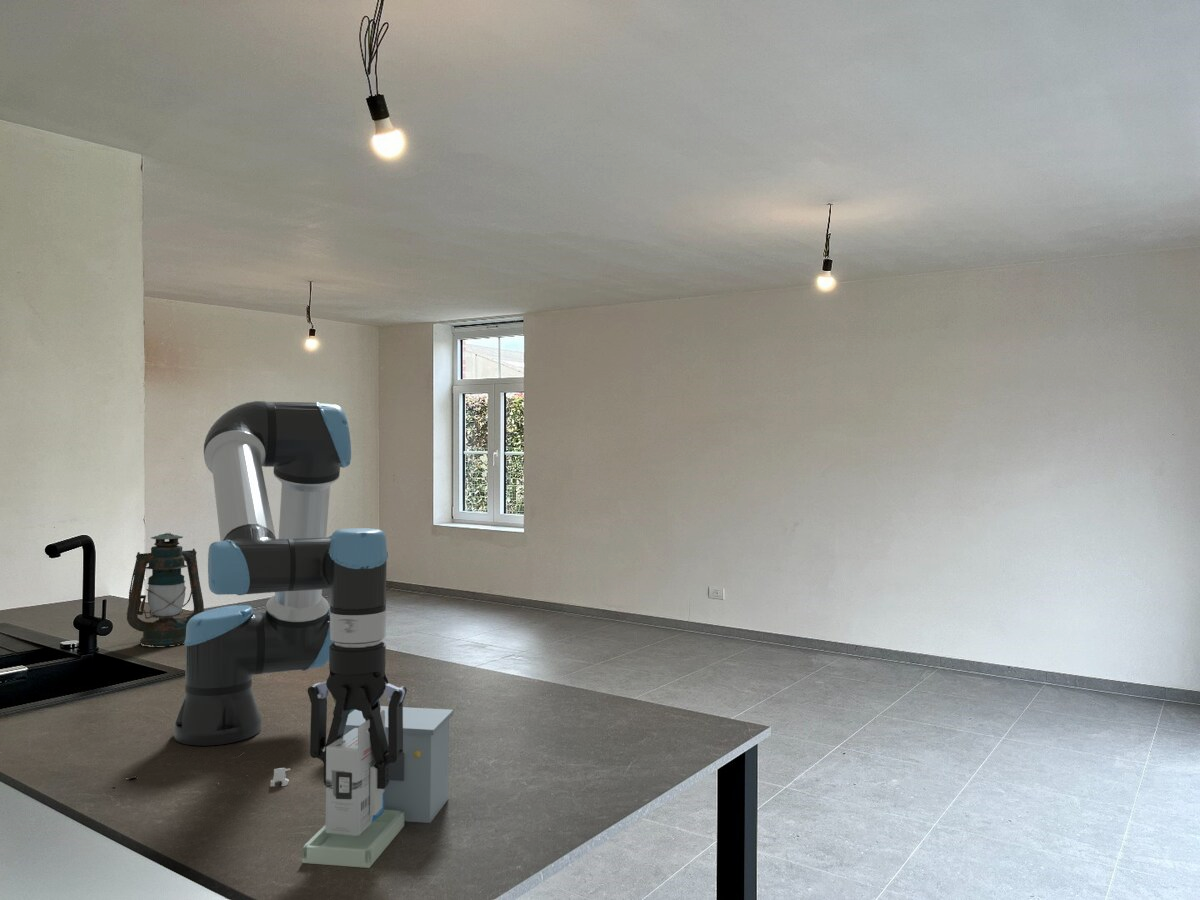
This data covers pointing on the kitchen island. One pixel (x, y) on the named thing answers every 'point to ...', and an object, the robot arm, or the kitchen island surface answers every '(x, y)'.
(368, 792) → the ink box
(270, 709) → the kitchen island surface
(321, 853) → the tray
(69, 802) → the kitchen island surface
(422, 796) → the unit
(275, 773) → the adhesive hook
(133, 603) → the lantern
